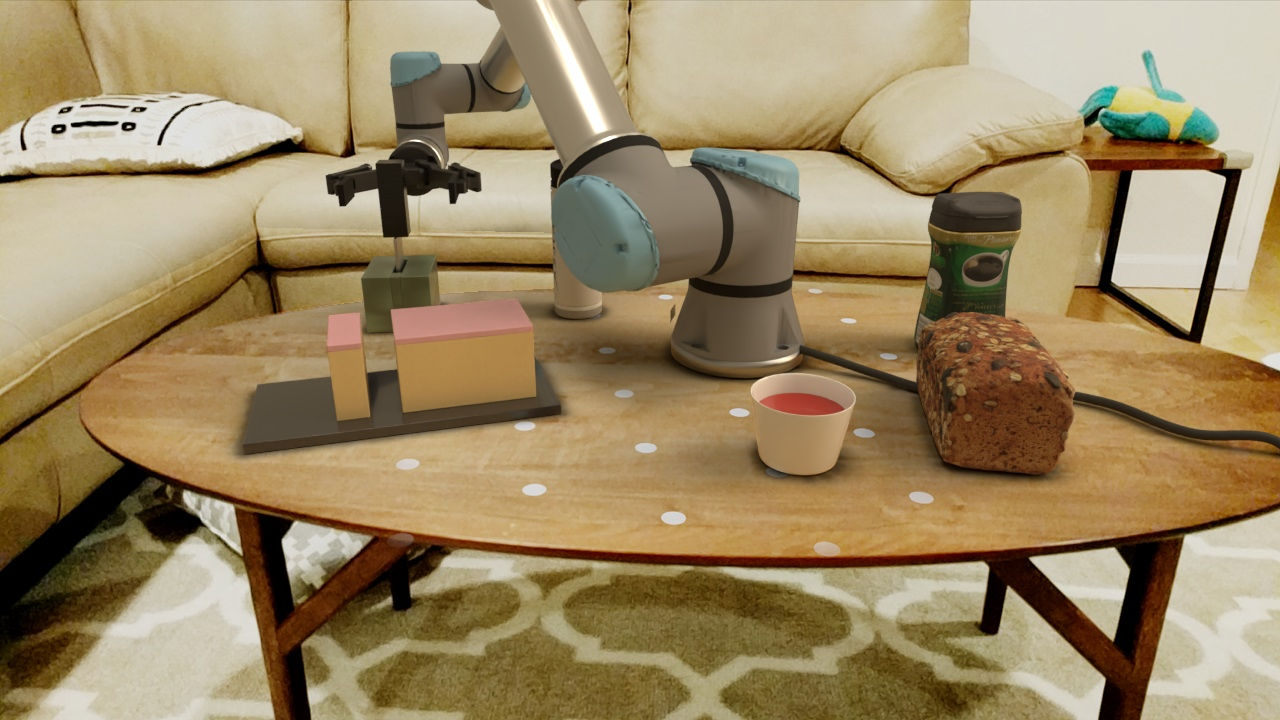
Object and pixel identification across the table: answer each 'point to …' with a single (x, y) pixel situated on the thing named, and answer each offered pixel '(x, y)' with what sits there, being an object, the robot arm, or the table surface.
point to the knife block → (398, 288)
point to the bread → (993, 394)
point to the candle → (800, 421)
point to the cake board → (311, 419)
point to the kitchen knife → (393, 205)
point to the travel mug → (570, 276)
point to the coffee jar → (969, 254)
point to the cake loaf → (463, 354)
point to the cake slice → (348, 366)
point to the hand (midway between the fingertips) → (396, 194)
